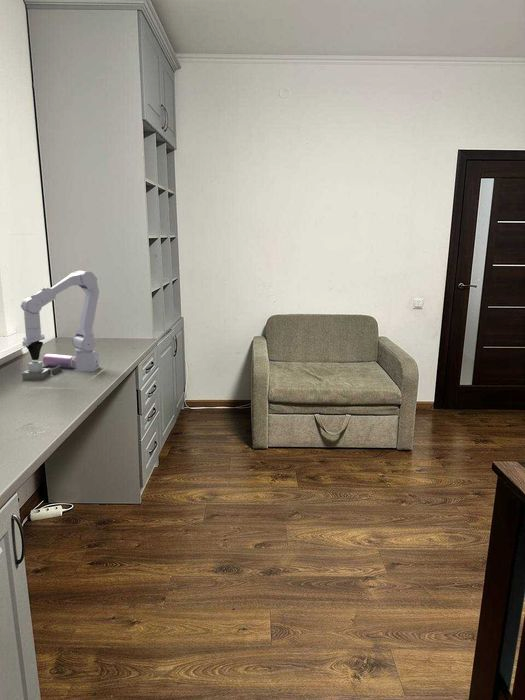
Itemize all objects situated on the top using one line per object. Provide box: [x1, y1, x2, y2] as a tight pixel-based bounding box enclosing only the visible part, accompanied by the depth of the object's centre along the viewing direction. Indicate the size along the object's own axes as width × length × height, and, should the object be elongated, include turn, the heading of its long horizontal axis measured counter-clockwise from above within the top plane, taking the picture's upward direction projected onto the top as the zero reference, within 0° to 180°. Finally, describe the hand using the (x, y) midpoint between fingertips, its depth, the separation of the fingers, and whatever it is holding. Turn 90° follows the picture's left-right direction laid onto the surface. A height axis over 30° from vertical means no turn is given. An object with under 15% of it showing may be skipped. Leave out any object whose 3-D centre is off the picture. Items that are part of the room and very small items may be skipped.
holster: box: [42, 365, 62, 376], centre depth 209 cm, size 7×7×3 cm
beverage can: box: [41, 353, 76, 370], centre depth 218 cm, size 6×6×15 cm
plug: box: [27, 360, 44, 373], centre depth 200 cm, size 4×4×7 cm
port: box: [21, 367, 52, 381], centre depth 201 cm, size 8×8×4 cm
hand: (35, 359), depth 199 cm, fingers closed
